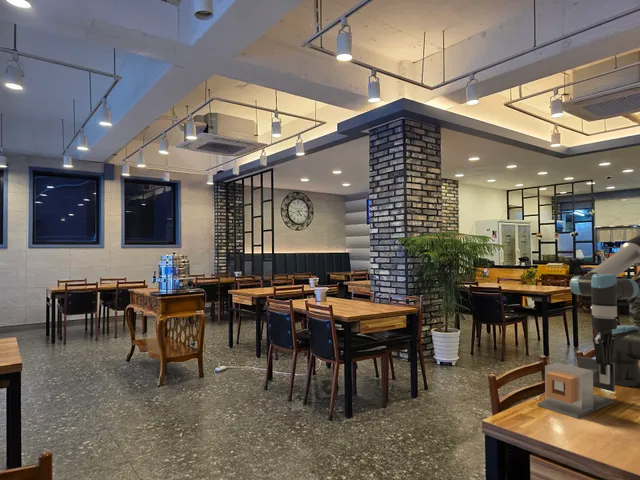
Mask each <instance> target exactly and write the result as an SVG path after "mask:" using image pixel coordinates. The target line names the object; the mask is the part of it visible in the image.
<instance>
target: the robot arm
mask: <svg viewBox="0 0 640 480" xmlns="http://www.w3.org/2000/svg"><path fill="white" fill-rule="evenodd" d="M639 263H640V234H639V235H637V236H635V237H632V238H630V239H629V240H627V241H626V242H624V243H623V244H621V245H620V247H619V249H618V250H617V251H616V252H615V253H614V254H612V255H611V256H609V257H608V258H606V259H605V260H604V261H602V262H601V263H600V264H598V265H597V266H595V267H594V268H593V269H592V270H590V271H589V272H588V273H586V274H585V275H584V276H582V275H575V276H572V278H570V280H569V288H570V291H571V292H572V293H573V294H574V295H580V296H583V297H584V296H586V297H591V306H590V309H591V315H592V317H591V327H592V328H594V329H596V333H595V337H592V342H593V348H594V355H595V359H596V364H599V365H600V383H604V384H610V365H613V363H615V386H622V387H630V386H632V387H633V388H638V387H637V386H640V329H639V326H638V325H628V324H627V325H620V324H619V325H618V319H617V317H618V305H617V301H618V300H630V299H633V298H636V297H637V296H638V295H639V293H640V287H639V284H638V283H637V282H636V281H635V280H634V279H632V278H618V277H619V276H620V275H621V274H623V273H624V272H625V271H626V270H628V269H629V268H630V267H632V266H634V265H635V264H639Z"/></svg>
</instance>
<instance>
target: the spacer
mask: <svg viewBox="0 0 640 480" xmlns="http://www.w3.org/2000/svg"><path fill="white" fill-rule="evenodd" d="M554 380H555V381H558V382H562V383H565V393H561V392H557V391H556V389H554ZM546 397H550V398H553V399H557V400H560V401H563V402H567V403H570V404H571V403H574V402H575V378H574V377H570V376H566V375H562V374H558V373H554V372H549V373H546Z"/></svg>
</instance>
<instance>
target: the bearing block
mask: <svg viewBox="0 0 640 480" xmlns="http://www.w3.org/2000/svg"><path fill="white" fill-rule="evenodd" d="M549 372H554V373H558V374H562V375H566V376H570V377H574V378H575V402H574V403H571V404H570V403H567V402H563V401H560V400H557V399H553V398H550V397H546V373H549ZM544 373H545V374H544V384H545V385H544V387H545V389H544V390H545V391H544V392H545V393H544V397H545V398H544V400H542V401H540V402H537V407H540V408H543V409H546V410H549V411H552V412H555V413H559V414H561V415H565V416H568V417H571V418H575V419H580V418H583V417H584V416H587V415H588V414H589V415H590V414H591V413H593V412H595V411H598V410H600V409H603V408H604V407H607V406H609V405H612V404H614V399H611V398H607V397H604V396H599V395H595V394H594V387H593V370H588V369H584V368H579V367H578V366H574V365H569V364H564V363H560V362H555V363H551V364H547V365H544ZM556 391H557V392H561V393H565V391H560V390H556Z"/></svg>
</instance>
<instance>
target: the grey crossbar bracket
mask: <svg viewBox="0 0 640 480" xmlns="http://www.w3.org/2000/svg"><path fill="white" fill-rule="evenodd" d="M577 367H579V368H584V369H588V370H593V388H596V389H600V390H605V391H609V392H613V393H614V392H616V384H615V363H613V365H610V384H604V383H600V365H599V364H596V358H589V357H586V356H585V357H584V356H580V355H578V356H577ZM554 389H556V390H560V391H565V383H562V382H558V381H555V380H554Z"/></svg>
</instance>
